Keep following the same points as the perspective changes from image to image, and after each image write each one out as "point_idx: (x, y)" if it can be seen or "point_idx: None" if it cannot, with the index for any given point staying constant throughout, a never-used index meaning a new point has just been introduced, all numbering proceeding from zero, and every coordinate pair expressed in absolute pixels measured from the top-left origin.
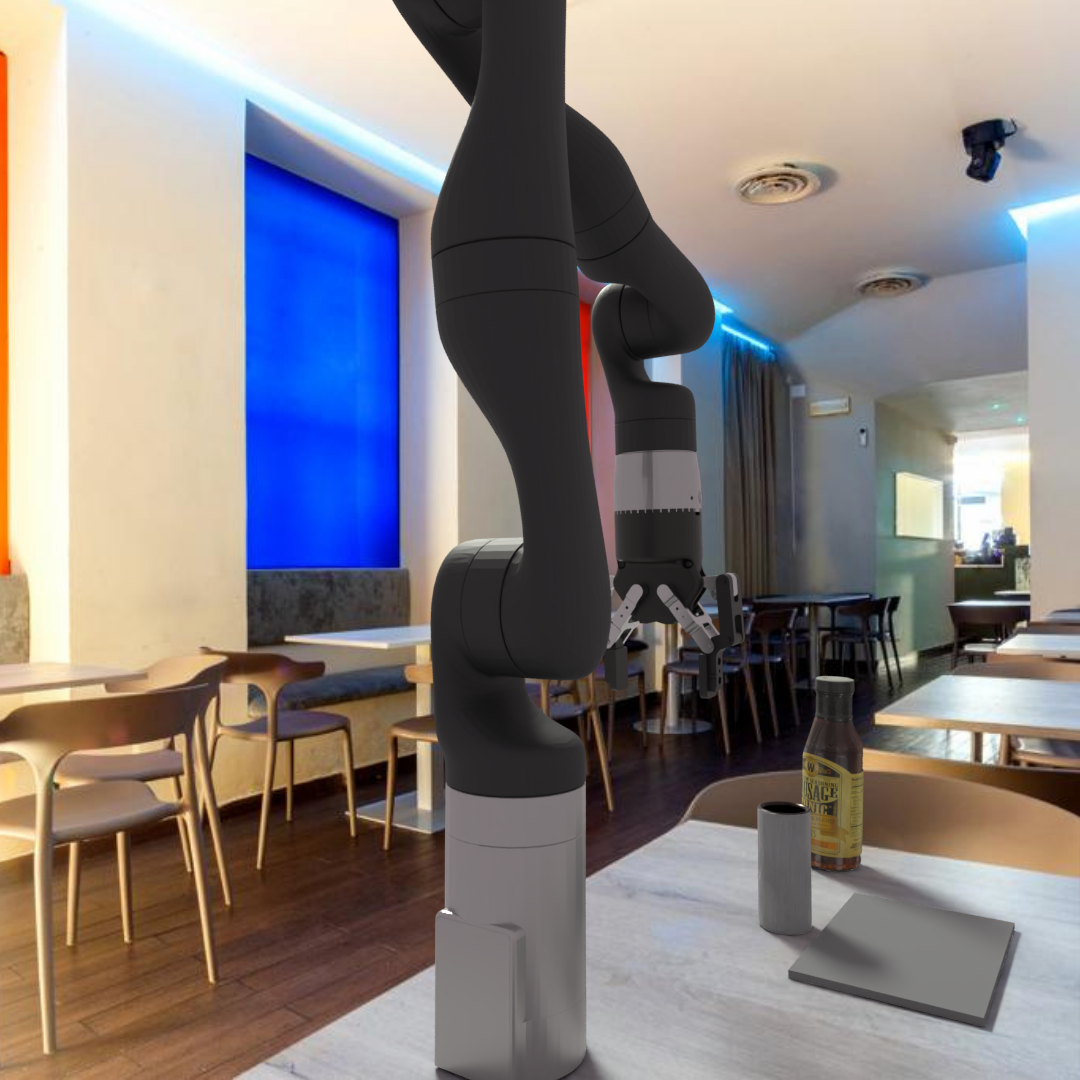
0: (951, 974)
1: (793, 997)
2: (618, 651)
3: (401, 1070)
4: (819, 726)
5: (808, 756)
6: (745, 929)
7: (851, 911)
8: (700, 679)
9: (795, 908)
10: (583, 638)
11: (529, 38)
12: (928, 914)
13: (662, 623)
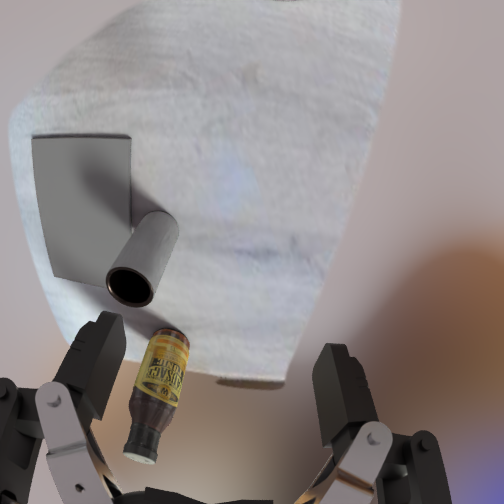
0: (52, 187)
1: (121, 111)
2: (340, 423)
3: None
4: (153, 421)
5: (165, 399)
6: (183, 209)
7: None
8: (103, 339)
9: (140, 223)
10: None
11: None
12: (87, 272)
13: (182, 495)
